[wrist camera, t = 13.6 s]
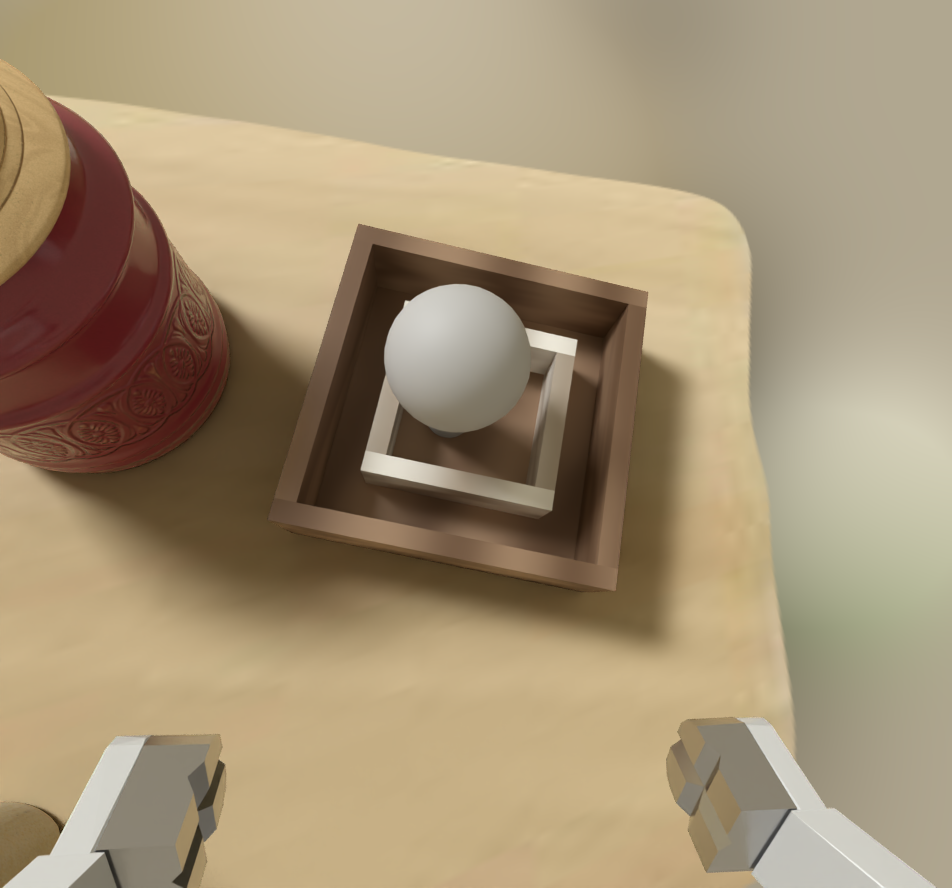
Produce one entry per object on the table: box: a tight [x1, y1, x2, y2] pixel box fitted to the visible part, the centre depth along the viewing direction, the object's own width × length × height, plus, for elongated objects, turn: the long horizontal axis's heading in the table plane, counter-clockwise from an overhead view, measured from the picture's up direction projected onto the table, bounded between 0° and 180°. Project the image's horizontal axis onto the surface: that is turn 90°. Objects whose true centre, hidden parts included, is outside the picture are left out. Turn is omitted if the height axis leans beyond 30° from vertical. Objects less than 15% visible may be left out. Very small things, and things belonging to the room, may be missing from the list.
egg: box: [384, 284, 531, 438], centre depth 25 cm, size 6×6×11 cm
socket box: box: [267, 224, 648, 592], centre depth 29 cm, size 16×16×5 cm
